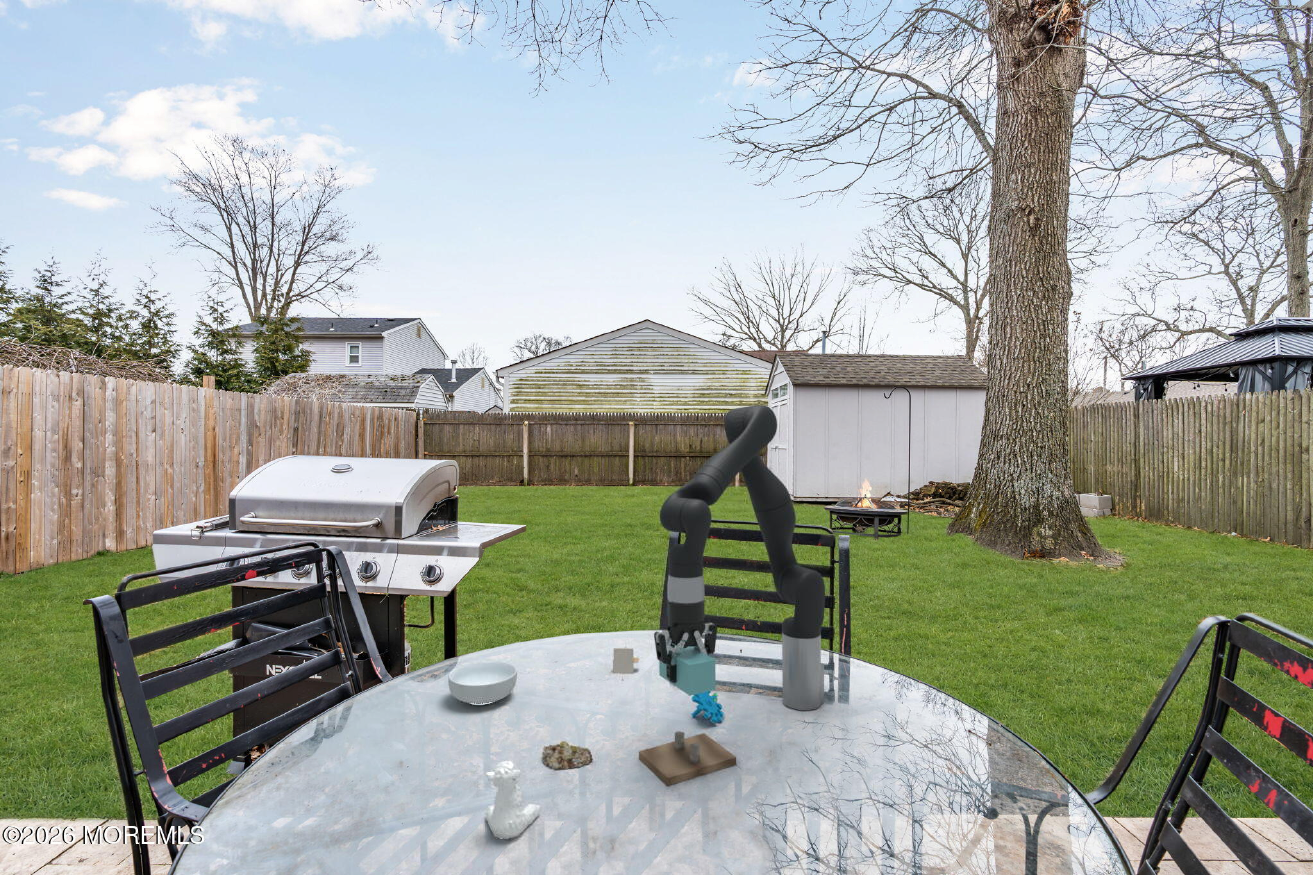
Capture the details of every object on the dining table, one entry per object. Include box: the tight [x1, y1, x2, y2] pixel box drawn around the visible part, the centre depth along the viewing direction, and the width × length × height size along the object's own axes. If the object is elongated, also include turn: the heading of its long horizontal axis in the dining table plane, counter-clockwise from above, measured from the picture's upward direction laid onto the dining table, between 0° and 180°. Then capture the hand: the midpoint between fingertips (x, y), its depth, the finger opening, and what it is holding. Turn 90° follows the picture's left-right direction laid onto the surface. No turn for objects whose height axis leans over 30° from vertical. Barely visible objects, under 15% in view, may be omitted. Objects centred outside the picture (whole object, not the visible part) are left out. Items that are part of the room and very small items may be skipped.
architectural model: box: [612, 646, 640, 675], centre depth 186 cm, size 3×7×7 cm, turn 86°
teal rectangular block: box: [658, 644, 716, 697], centre depth 136 cm, size 6×12×6 cm, turn 29°
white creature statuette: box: [485, 760, 542, 840], centre depth 115 cm, size 10×9×12 cm
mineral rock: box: [541, 740, 593, 770], centre depth 137 cm, size 11×4×8 cm
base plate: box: [638, 730, 738, 787], centre depth 137 cm, size 16×12×4 cm
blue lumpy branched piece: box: [691, 691, 725, 724], centre depth 157 cm, size 11×6×10 cm
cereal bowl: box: [448, 660, 518, 704], centre depth 168 cm, size 17×17×7 cm
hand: (686, 678), depth 136 cm, fingers closed on teal rectangular block, 6 cm apart
